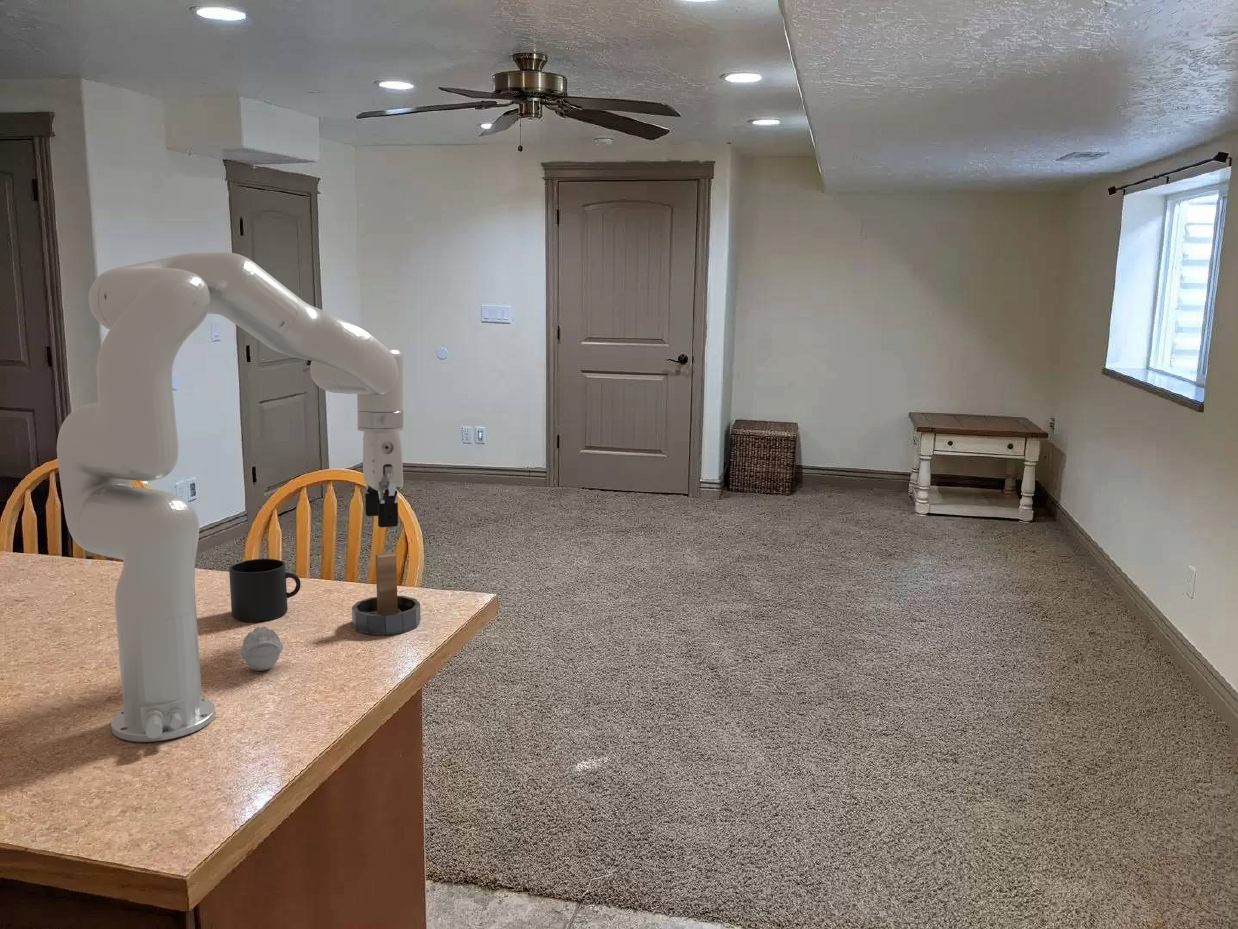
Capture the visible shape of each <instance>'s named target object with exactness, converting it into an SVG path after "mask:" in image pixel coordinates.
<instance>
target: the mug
mask: <svg viewBox="0 0 1238 929" xmlns="http://www.w3.org/2000/svg"><path fill="white" fill-rule="evenodd" d="M286 570H287V566H286V562H285V561H283V560H281V559H275V558H274V559H273V558H257V559H254V558H253V559H248V560H247V559H246V560H241V561H239V562H235V563H233V564H231V565H230V566H229V569H228V571H229V572H228V573H229V574H228V575H229V591H230V593H229V594H230V608H231V609H230V610H231V616H232V619H234V620H236V621H240V622H246V623H259V622H267V621H272V620H276V619H279V618H281V617H283V616H285V615H286V614H287V612H288V599H290V598H291V597H294V596H295V595H298V593H299V592H300V589H301V585H302V583H301V579H300V578H299V576H298V574H296V573H293V572H287V571H286ZM287 579H293V580H294V581H295V588H294V589H293V590H292V591H290V592H289V591H287Z"/></svg>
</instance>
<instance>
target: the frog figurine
mask: <svg viewBox="0 0 1238 929" xmlns="http://www.w3.org/2000/svg"><path fill="white" fill-rule="evenodd" d="M242 642H243V643H242V645H241V648H240V651H239V652H240V655H241V658H242V659H243V660H244V662H245V663H246V664H247V666H248V667H249V668H250V669H252V670H254V671H259V672H263V671H267V670H269V669H271V668H273V666H275V664H277V662H278V660H279V658H280V654H281V653H282V651H283V643H282V642H281V639H280V637H279V635H278V633H276V632H275V630H274V629H269V628H268V627H266V626H262V627H260V626H258V627H255V628H254V629H253V631H250V632H248V634H247V635H246V636H245V637H244V639H243V640H242Z"/></svg>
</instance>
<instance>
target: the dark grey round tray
mask: <svg viewBox="0 0 1238 929" xmlns="http://www.w3.org/2000/svg"><path fill="white" fill-rule="evenodd" d="M397 605H398V613H394V614H386V615H380V614H377V596H373V597H368V598H365V599H364V598H363V599H361V600H359V601H357V602H356V603H355V604H353V606H351V615H352V616H351V618H352V625H353V630H355V631H356V632H357V633H360V634H364V635H368V636H379V637H380V636H393V635H394V636H395V635H400V634H404V633H408V632H411V631H413V630H414V629H415V630H416V628H418V627H419V626H420V623H421V603H420V602H419V600H418V599H417V598H413V597H410V596H406V595H397ZM418 625H419V626H418ZM417 626H418V627H417Z"/></svg>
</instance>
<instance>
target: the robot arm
mask: <svg viewBox="0 0 1238 929" xmlns="http://www.w3.org/2000/svg"><path fill="white" fill-rule="evenodd" d="M90 286H91V287H90V288H89V292H88V306H89V310H90V312H91V314H92V315H93V317H94V319H95V320H96V321H97V322H98V323H99V324H100V325H101V326H103V327H104V328H106V329H107V330H109V331H108V332H107V334H106V335H105V337H104V339H103V341H102V343H101V346H100V349H99V352H98V354H97V355H98V356H97V360H96V383H97V384H96V385H97V400H98V402H93V403H87V404H83V405H81V406H79V407H77V408H75V409H74V410H73V411H71V412H70V413H69V414H68V415H67V416H66V418H65V419H64V420H63V422H62V424H61V426H60V428H59V431H58V436H57V440H56V441H57V442H56V457H57V466H58V474H59V482H60V489H61V495H62V496H61V498H62V503H63V509H64V510H63V511H64V516H65V521H66V525H67V528H68V532H69V535H70V536H71V538H72V539H73V541H74V542H75V543H76V544H77V546H79V547H80V548H82V549H83V550H85V551H86V552H88V553H91V554H95V555H100V556H104V557H109V558H113V559H117V560H122V561H123V564H122V565H123V566H122V570H121V572H120V575H119V578H118V581H117V585H116V587H115V593H114V608H115V609H114V610H115V618H116V630H117V631H116V632H117V633H116V634H117V644H118V646H117V647H118V658H119V672H120V681H121V682H120V683H121V694H122V696H121V697H122V708H123V709H122V710H120V711H119V712H117V714H115V715H114V717H113V718H112V719H111V722H110V725H111V727H110V728H111V731H112V732H111V733H112V734H113V735H114V736H115V737H117V738H119V739H121V740H124V741H129V742H137V743H143V742H144V743H147V742H148V743H151V742H161V741H167V740H172V739H176V738H180V737H184V736H187V735H189V734H192V733H195V732H196V731H200V730H201V729H203V728H204V727H206V726H207V725H209V724H210V723H212V721H213V719H214V718H215V715H216V706H215V704H214V703H213V702H212V701H211V700H209V699H207V698H205V697H203V696H202V694H203V692H202V680H201V678H202V677H201V661H200V646H199V632H198V615H197V603H196V602H197V601H196V587H195V586H196V585H195V583H196V582H195V578H196V577H195V575H196V572H195V571H196V569H195V568H196V558H197V551H198V544H199V537H200V522H199V518H198V515H197V513H196V511H195V509H194V507H193V506H192V505H191V504H190V503H189V502H187V500H185V499H184V498H183V497H180V496H179V495H177V494H176V493H175V494H174V493H171V492H168V491H166V490H160V489H152V488H147V487H137V486H136V487H135V486H132V485H133V484H132V481H135V482H136V481H138V482H139V481H140V482H150V481H156V480H161V479H163V478H166V477H167V475H170V474H171V473H172V472H173V470H175V467H176V466H177V463H178V460H179V438H178V437H179V436H178V427H177V420H176V410H175V409H176V408H175V399H174V398H175V397H174V388H173V370H174V368H173V367H174V363H175V359H176V356H177V354H178V352H179V350H180V348H181V347H182V345H183V344H184V343H185V341H186V340H187V339H188V338H189V336H191V334H192V333H194V332H195V330H197V329H198V328H199V327H200V326H201V325H202V323H203V322H204V321H205V318H206V317H207V315H208V314H209V315H213V314H214V315H219V316H222V317H224V318H226V319H227V320H228V321H230V322H232V323H233V324H235V325H236V326H238V327H239V328H241V329H242V330H243V331H245V332H246V333H248V334H249V335H251V336H252V337H254V338H255V339H257V340H258V341H259V342H261V343H262V344H263V345H265V346H266V347H267V348H269V349H271V350H273V351H275V352H278V353H281V354H284V355H286V356H290V357H293V358H296V359H300V360H301V359H303V360H305V361H306V360H307V361H311V362H310V366H309V373H310V377H311V379H312V380H313V382H314V383H315V385H317V387H319V388H320V389H322V390H324V391H326V392H329V393H335V394H345V395H352V394H353V395H357V396H356V397H357V398H356V400H357V404H356V407H357V408H356V409H357V410H356V412H357V430H358V431H360V432H363V437H362V440H363V441H362V472H363V473H362V474H363V481H364V483H365V493H364V494H365V496H364V498H365V500H364V501H365V516H366V517H377V526H378V528H392V527H393V528H394V527H397V526H398V525H399V499H398V490H402V489H403V487H404V470H403V469H404V467H403V450H402V440H401V432H400V431H403V430H404V357H403V354H402V351H400V349H397V348H394V347H387V346H385V345H384V344H383V343H382V342H380V341H379V340H378V339H377V338H376V337H375V336H373V335H372V334H370V333H369V332H368V331H366V330H364V329H363V328H361V327H359V326H357V325H356V324H354V323H352V322H349V321H347V320H345V319H342V318H340V317H337V316H336V315H334V314H332V313H329V312H328V311H325V310H323V309H321V308H318V307H316V306H314V305H311V304H309V303H307V302H306V301H304V300H302V299H301V298H300V297H299V296H298V295H296V294H295V293H294V292H293V291H291V290H290V289H289V288H287V287H286V286H285V285H284V284H282V283H281V282H280V281H278V280H277V279H276V278H274V276H272V275H271V274H270V273H268V272H267V271H266V270H265V269H263V268H262V267H260V265H258V264H257V263H255V262H254V261H253V260H251V259H250V258H248V257H246V256H244V255H242V254H239V253H235V252H225V251H224V252H221V251H220V252H188V253H182V254H177V255H172V256H168V257H163V258H159V259H154V260H150V261H145V262H144V261H143V262H139V263H134V264H130V265H128V264H127V265H125V266H119V267H114V268H111V269H108V270H106V271H104V272H102V273H101V274H100V275H99V276H97V277H96V278H95V280H94V281H93V283H92V284H91V285H90Z"/></svg>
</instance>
